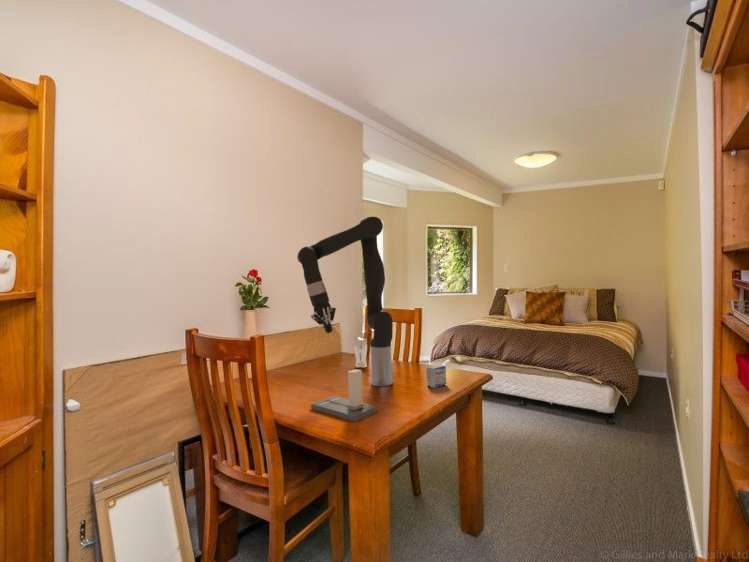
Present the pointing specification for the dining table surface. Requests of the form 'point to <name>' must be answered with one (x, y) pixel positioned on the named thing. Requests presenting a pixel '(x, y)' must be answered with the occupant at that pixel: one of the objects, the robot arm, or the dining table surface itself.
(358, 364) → the beer glass
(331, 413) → the fader board
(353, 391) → the beige tall block
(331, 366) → the dining table surface
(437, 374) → the medicine box
